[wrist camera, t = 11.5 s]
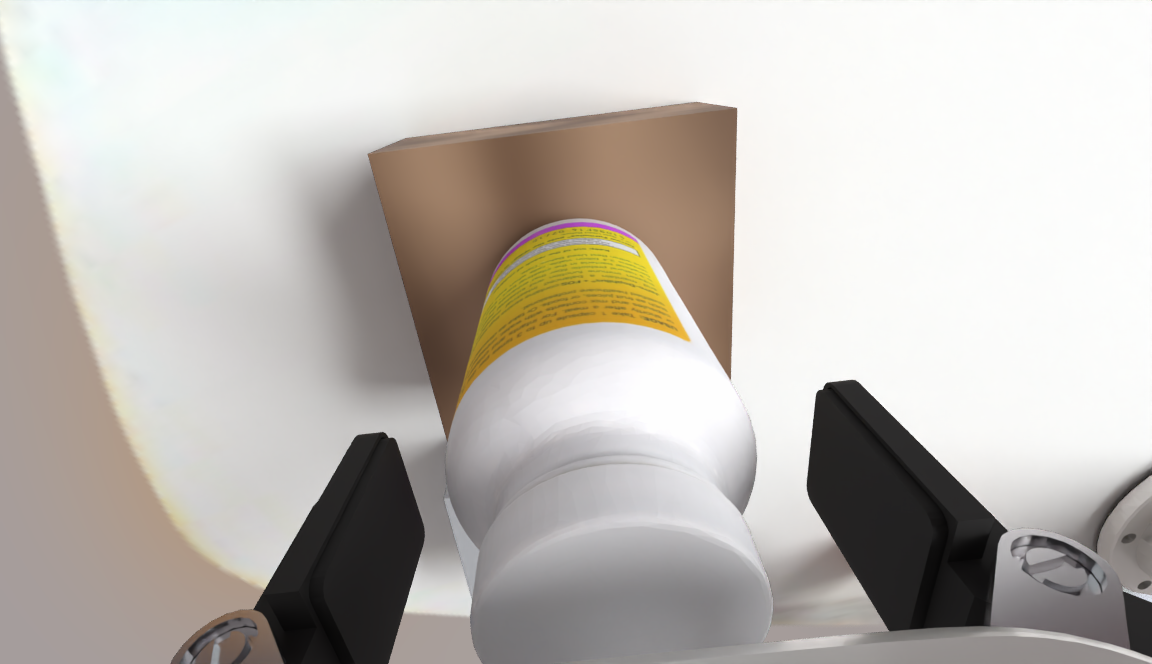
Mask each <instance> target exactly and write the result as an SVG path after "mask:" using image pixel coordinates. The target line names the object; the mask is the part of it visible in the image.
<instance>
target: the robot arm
mask: <svg viewBox="0 0 1152 664" xmlns="http://www.w3.org/2000/svg"><path fill="white" fill-rule="evenodd" d="M807 492H808V496H809V499H810V501H811V503H812V504H813V506H814V508H815V509H816V511H817V513H818V514H819V516H820V518H821V519H822V521H823V523H824V524H825V526H826V527H827V529H828V531H829V532H830V534H831V536H832V537H833V539H834V541H835V542H836V544H837V546H838V547H839V549H840V551H841V552H842V554H843V556H844V557H845V559H846V561H847V562H848V564H849V566H850V567H851V569H852V570H853V572H854V574H855V575H856V577H857V579H858V580H859V582H860V584H861V585H862V587H863V589H864V590H865V592H866V594H867V595H868V597H869V599H870V600H871V602H872V604H873V605H874V607H875V608H876V610H877V612H878V613H879V615H880V617H881V618H882V620H883V622H884V623H885V625H886V627H887V628H888V630H889V631H888V632H876V633H863V634H850V635H840V636H829V637H818V638H808V639H798V640H788V641H776V642H766V643H755V644H745V645H734V646H724V647H714V648H704V649H694V650H684V651H674V652H664V653H654V654H644V655H634V656H624V657H614V658H605V659H595V660H585V661H575V662H566V663H556V664H1152V603H1151V602H1149V601H1146V600H1144V599H1141V598H1139V597H1136V596H1134V595H1131V594H1128V593H1126V592H1123V590H1122V586H1123V587H1124V588H1126V589H1129V590H1131V591H1133V592H1137V593H1142V594H1148V595H1152V475H1150V476H1149V477H1148V478H1146V479H1145V480H1144V481H1142V482H1141V483H1140V484H1139V485H1137V486H1136V487H1135V488H1134V489H1132V490H1131V491H1130V492H1129V493H1128V494H1127V495H1126V496H1125V497H1124V498H1123V499H1122V500H1121V501H1120V502H1119V503H1118V505H1117V506H1116V507H1115V508H1114V510H1113V511H1112V512H1111V514H1110V515H1109V516H1108V518H1107V520H1106V522H1105V524H1104V525H1103V527H1102V529H1101V531H1100V535H1099V539H1098V543H1097V554H1096V553H1095V552H1094V551H1093V550H1091V549H1089V548H1088V547H1086V546H1084V545H1082V544H1080V543H1079V542H1077V541H1075V540H1073V539H1070V538H1068V537H1065V536H1063V535H1060V534H1058V533H1054V532H1050V531H1046V530H1042V529H1034V528H1019V529H1014V530H1010V531H1007V530H1006V529H1005V528H1004V527H1003V526H1002V525H1001V524H1000V523H999V522H998V521H997V520H996V519H995V517H994V516H993V515H992V514H991V513H990V512H989V511H988V510H987V509H986V508H985V507H984V506H983V505H982V504H981V503H980V502H979V501H978V500H977V499H976V498H975V497H974V496H973V495H971V494H970V493H969V492H968V491H967V490H966V489H965V488H964V487H963V486H962V485H961V484H960V483H959V482H958V481H957V480H956V479H955V478H954V477H953V476H952V475H951V474H950V473H949V472H948V471H947V470H946V469H945V468H944V467H943V466H942V465H941V464H940V463H939V462H938V461H937V460H936V459H935V458H934V457H933V456H932V455H931V454H930V453H929V452H928V451H927V450H926V449H925V448H924V447H923V446H922V445H921V444H920V443H919V442H918V441H917V440H916V439H915V438H914V437H913V436H912V435H911V434H910V433H909V432H908V431H907V430H906V429H905V428H904V427H903V426H902V425H901V424H900V423H899V422H898V421H897V420H896V419H895V418H894V417H893V416H892V415H891V414H890V413H889V412H888V411H887V410H886V409H885V408H884V407H883V406H882V405H881V404H880V403H879V402H878V401H877V400H876V399H875V398H874V397H873V396H872V395H871V394H870V393H869V392H868V391H867V390H866V389H865V388H864V387H863V386H862V385H861V384H860V383H859V382H857V381H856V380H846V381H838V382H829V383H826V384H825V386H824V388H823V390H819V391H818V392H817V394H816V400H815V409H814V419H813V429H812V438H811V448H810V457H809V467H808V476H807ZM424 537H425V531H424V525H423V522H422V519H421V516H420V512H419V509H418V506H417V503H416V500H415V497H414V494H413V491H412V488H411V485H410V482H409V479H408V475H407V472H406V469H405V466H404V463H403V460H402V457H401V454H400V451H399V448H398V445H397V442H396V440H395V439H394V438H388V436H387V435H386V433H384V432H380V433H371V434H362V435H357V436H356V437H355V438H354V440H353V442H352V443H351V445H350V447H349V449H348V450H347V452H346V454H345V456H344V457H343V459H342V461H341V462H340V464H339V466H338V468H337V469H336V471H335V473H334V475H333V476H332V478H331V480H330V482H329V483H328V485H327V487H326V488H325V490H324V492H323V494H322V495H321V497H320V499H319V501H318V502H317V503H316V504H315V505H314V506H313V508H312V510H311V511H310V513H309V515H308V516H307V518H306V520H305V522H304V523H303V525H302V527H301V528H300V530H299V532H298V534H297V535H296V537H295V539H294V541H293V542H292V544H291V546H290V547H289V549H288V551H287V553H286V554H285V556H284V558H283V559H282V561H281V563H280V565H279V566H278V568H277V570H276V571H275V573H274V575H273V577H272V578H271V580H270V582H269V584H268V585H267V587H266V589H265V590H264V592H263V594H262V596H261V597H260V599H259V601H258V602H257V604H256V606H255V608H254V609H253V610H252V609H250V610H238V611H234V612H231V613H227V614H225V615H223V616H221V617H219V618H217V619H215V620H213V621H211V622H209V623H208V624H207V625H205V626H204V627H202V628H201V629H200V630H198V631H197V632H196V633H195V634H194V635H192V636H191V637H190V638H189V639H188V640H187V641H186V642H185V643H184V644H183V645H182V647H181V648H180V649H179V651H178V652H177V653H176V655H175V656H174V657H173V659H172V661H171V664H388V663H389V659H390V656H391V653H392V649H393V646H394V642H395V639H396V635H397V632H398V629H399V625H400V622H401V619H402V615H403V612H404V608H405V605H406V602H407V598H408V595H409V591H410V588H411V585H412V581H413V578H414V574H415V571H416V568H417V564H418V561H419V557H420V554H421V551H422V547H423V544H424Z"/></svg>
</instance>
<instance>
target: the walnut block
mask: <svg viewBox="0 0 1152 664" xmlns="http://www.w3.org/2000/svg"><path fill="white" fill-rule="evenodd" d="M736 136H737V108H733V107H727V106H720V105H713V104H707V103H700V102H693V103H685V104H677V105H669V106H661V107H653V108H645V109H637V110H629V111H621V112H613V113H605V114H597V115H589V116H581V117H573V118H565V119H557V120H549V121H541V122H533V123H525V124H516V125H508V126H500V127H492V128H484V129H476V130H468V131H460V132H452V133H444V134H436V135H428V136H420V137H412V138H405V139H403V140H400V141H398V142H396V143H393V144H391V145H388V146H386V147H384V148H381V149H379V150H376V151H374V152H371V153H369V154H368V157H369V160H370V164H371V168H372V171H373V175H374V178H375V182H376V186H377V189H378V193H379V197H380V200H381V204H382V207H383V211H384V215H385V218H386V222H387V225H388V229H389V233H390V236H391V240H392V244H393V247H394V251H395V254H396V258H397V262H398V265H399V269H400V272H401V276H402V280H403V283H404V287H405V291H406V294H407V298H408V301H409V305H410V309H411V312H412V316H413V319H414V323H415V327H416V330H417V334H418V338H419V341H420V345H421V348H422V352H423V356H424V359H425V363H426V366H427V370H428V374H429V377H430V381H431V385H432V388H433V392H434V395H435V399H436V403H437V406H438V410H439V413H440V417H441V421H442V424H443V428H444V432H445V435H446V439H447V442H448V437H449V433H450V429H451V425H452V421H453V418H454V414H455V410H456V407H457V403H458V399H459V395H460V392H461V388H462V385H463V381H464V377H465V373H466V369H467V365H468V362H469V358H470V355H471V351H472V347H473V343H474V339H475V336H476V332H477V328H478V325H479V321H480V317H481V313H482V309H483V305H484V301H485V298H486V294H487V290H488V287H489V284H490V281H491V278H492V275H493V273H494V271H495V269H496V267H497V265H498V264H499V262H500V260H501V259H502V257H503V256H504V255H505V254H506V252H507V251H508V250H509V249H510V248H511V247H512V246H513V245H514V244H515V243H516V242H517V241H518V240H520V239H521V238H522V237H523V236H525V235H526V234H528V233H529V232H531V231H533V230H535V229H537V228H539V227H541V226H544V225H546V224H549V223H553V222H556V221H560V220H567V219H577V218H581V219H594V220H599V221H604V222H607V223H610V224H613V225H616V226H618V227H620V228H622V229H624V230H626V231H628V232H630V233H631V234H633V235H634V236H635V237H637V238H638V239H639V240H641V241H642V242H643V243H644V244H645V245H646V246H647V247H648V248H649V249H650V250H651V252H652V253H653V254H654V256H655V257H656V259H657V260H658V262H659V263H660V265H661V266H662V268H663V270H664V271H665V273H666V275H667V277H668V278H669V280H670V282H671V284H672V285H673V287H674V288H675V290H676V292H677V293H678V295H679V297H680V298H681V300H682V302H683V303H684V305H685V307H686V308H687V310H688V311H689V313H690V315H691V316H692V318H693V320H694V321H695V323H696V325H697V326H698V328H699V330H700V331H701V333H702V335H703V337H704V338H705V340H706V342H707V343H708V345H709V347H710V348H711V350H712V352H713V353H714V355H715V356H716V358H717V360H718V361H719V363H720V364H721V366H722V368H723V369H724V371H725V373H726V374H727V376H728V377H729V379H730V381H731V347H732V305H733V263H734V221H735V179H736Z"/></svg>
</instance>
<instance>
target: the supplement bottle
mask: <svg viewBox="0 0 1152 664" xmlns="http://www.w3.org/2000/svg"><path fill="white" fill-rule="evenodd" d="M756 463H757V453H756V440H755V435H754V431H753V427H752V423H751V420H750V417H749V415H748V412H747V410H746V407H745V405H744V403H743V401H742V399H741V397H740V395H739V394H738V392H737V390H736V389H735V387H734V385H733V384H732V382H731V381H730V379H729V377H728V376H727V374H726V373H725V371H724V369H723V368H722V366H721V364H720V363H719V361H718V360H717V358H716V356H715V355H714V353H713V352H712V350H711V348H710V347H709V345H708V343H707V342H706V340H705V338H704V337H703V335H702V333H701V331H700V330H699V328H698V326H697V325H696V323H695V321H694V320H693V318H692V316H691V315H690V313H689V311H688V310H687V308H686V307H685V305H684V303H683V302H682V300H681V298H680V297H679V295H678V293H677V292H676V290H675V288H674V287H673V285H672V284H671V282H670V280H669V278H668V277H667V275H666V273H665V271H664V270H663V268H662V266H661V265H660V263H659V262H658V260H657V259H656V257H655V256H654V254H653V253H652V252H651V250H650V249H649V248H648V247H647V246H646V245H645V244H644V243H643V242H642V241H641V240H639V239H638V238H637V237H635V236H634V235H633V234H631V233H630V232H628V231H626V230H624V229H622V228H620V227H618V226H616V225H613V224H610V223H607V222H604V221H599V220H594V219H581V218H577V219H567V220H560V221H556V222H553V223H549V224H546V225H544V226H541V227H539V228H537V229H535V230H533V231H531V232H529V233H528V234H526V235H525V236H523V237H522V238H521V239H520V240H518V241H517V242H516V243H515V244H514V245H513V246H512V247H511V248H510V249H509V250H508V251H507V252H506V254H505V255H504V256H503V257H502V259H501V260H500V262H499V264H498V265H497V267H496V269H495V271H494V273H493V275H492V278H491V281H490V284H489V287H488V290H487V294H486V298H485V301H484V305H483V309H482V313H481V317H480V321H479V325H478V328H477V332H476V336H475V339H474V343H473V347H472V351H471V355H470V358H469V362H468V365H467V369H466V373H465V377H464V381H463V385H462V388H461V392H460V395H459V399H458V403H457V407H456V410H455V414H454V418H453V421H452V425H451V429H450V433H449V437H448V442H447V448H446V457H445V471H446V484H447V489H448V494H449V497H450V501H451V504H452V507H453V509H454V512H455V514H456V516H457V518H458V521H459V523H460V524H461V526H462V528H463V529H464V531H465V532H466V534H467V535H468V537H469V538H470V540H471V541H472V542H473V543H474V545H475V546H476V547H477V548H478V549H479V550H480V552H479V556H478V562H477V568H476V576H475V583H474V590H473V598H472V607H471V615H470V623H471V634H472V640H473V644H474V648H475V650H476V652H477V654H478V656H479V658H480V660H481V662H482V663H483V664H556V663H566V662H575V661H585V660H595V659H605V658H614V657H624V656H634V655H644V654H654V653H664V652H674V651H684V650H694V649H704V648H714V647H724V646H734V645H745V644H755V643H763V641H764V640H765V638H766V636H767V634H768V631H769V628H770V626H771V620H772V615H773V596H772V591H771V587H770V583H769V579H768V576H767V574H766V571H765V569H764V566H763V564H762V561H761V559H760V556H759V554H758V551H757V549H756V546H755V544H754V541H753V538H752V535H751V532H750V530H749V527H748V525H747V523H746V521H745V520H744V518H743V517H742V515H743V513H744V511H745V509H746V507H747V504H748V501H749V498H750V496H751V493H752V490H753V485H754V481H755V474H756Z"/></svg>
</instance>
